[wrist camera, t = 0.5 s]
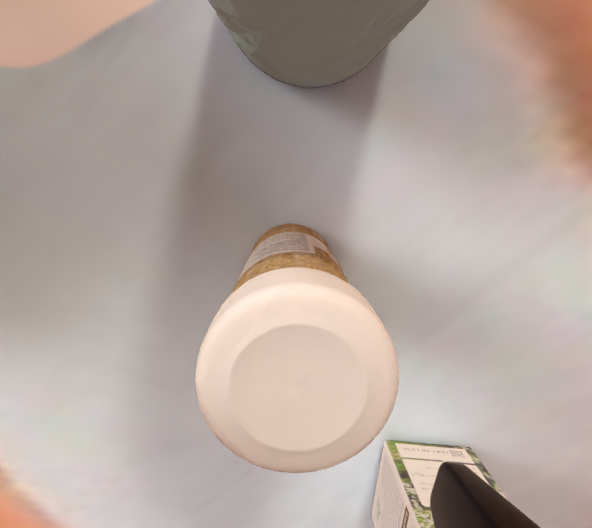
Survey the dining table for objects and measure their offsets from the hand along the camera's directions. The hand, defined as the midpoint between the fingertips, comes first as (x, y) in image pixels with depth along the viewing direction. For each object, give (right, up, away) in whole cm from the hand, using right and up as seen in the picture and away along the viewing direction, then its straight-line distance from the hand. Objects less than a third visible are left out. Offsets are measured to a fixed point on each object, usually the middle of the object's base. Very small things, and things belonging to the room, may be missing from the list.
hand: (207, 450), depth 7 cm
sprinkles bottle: (+1, +4, +14) cm, 15 cm away
